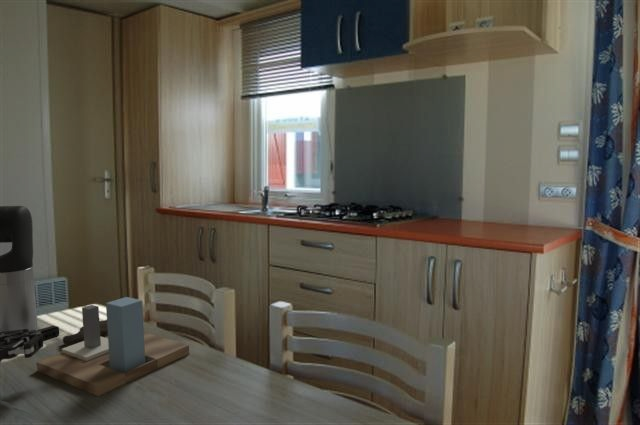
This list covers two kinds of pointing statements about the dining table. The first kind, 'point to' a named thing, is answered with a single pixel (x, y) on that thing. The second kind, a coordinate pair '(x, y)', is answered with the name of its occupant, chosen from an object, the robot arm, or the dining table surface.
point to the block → (125, 334)
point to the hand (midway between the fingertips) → (56, 330)
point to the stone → (79, 336)
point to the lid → (89, 337)
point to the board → (97, 370)
